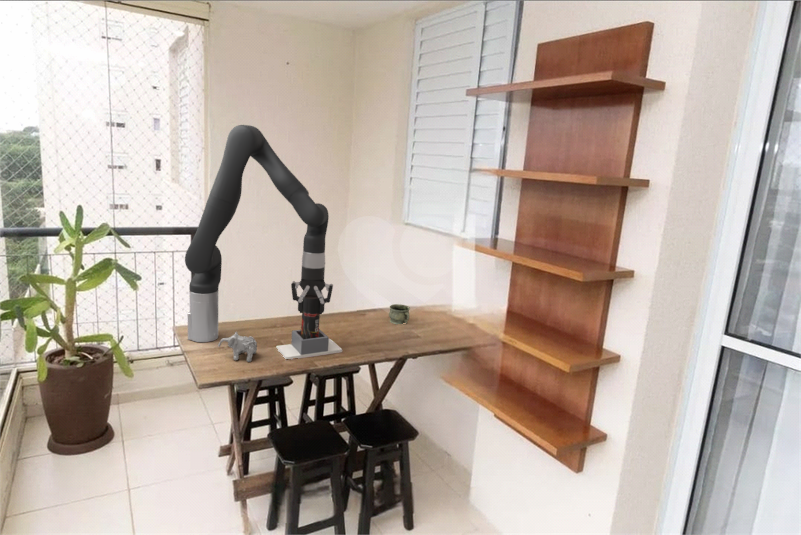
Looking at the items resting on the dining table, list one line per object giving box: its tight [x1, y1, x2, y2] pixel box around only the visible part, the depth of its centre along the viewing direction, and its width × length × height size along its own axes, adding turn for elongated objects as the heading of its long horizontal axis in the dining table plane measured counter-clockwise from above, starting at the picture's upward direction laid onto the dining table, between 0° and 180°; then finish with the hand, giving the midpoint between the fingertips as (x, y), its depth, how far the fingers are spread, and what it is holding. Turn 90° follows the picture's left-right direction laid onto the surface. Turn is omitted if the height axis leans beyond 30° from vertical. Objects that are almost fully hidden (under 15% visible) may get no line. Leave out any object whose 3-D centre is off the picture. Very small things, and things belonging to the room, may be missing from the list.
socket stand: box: [275, 328, 343, 360], centre depth 172 cm, size 20×10×6 cm, turn 121°
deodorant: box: [300, 294, 321, 339], centre depth 170 cm, size 6×6×15 cm
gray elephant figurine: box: [217, 331, 258, 363], centre depth 162 cm, size 9×12×8 cm
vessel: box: [388, 303, 411, 325], centre depth 209 cm, size 12×9×6 cm
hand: (311, 312), depth 170 cm, fingers closed on deodorant, 6 cm apart
